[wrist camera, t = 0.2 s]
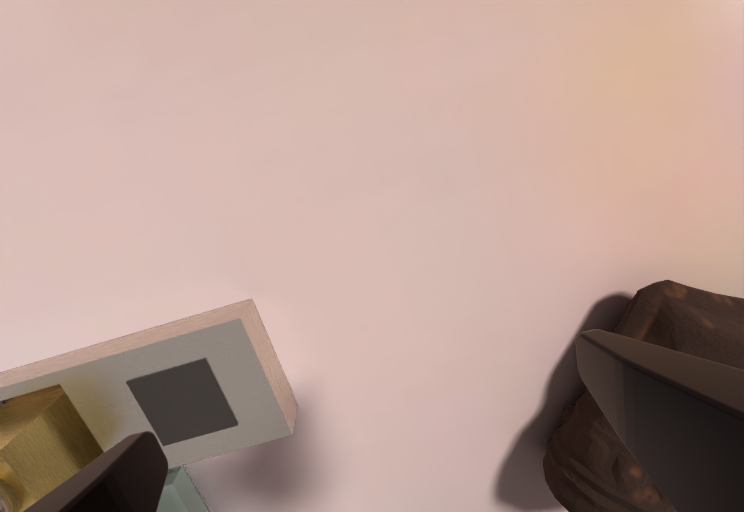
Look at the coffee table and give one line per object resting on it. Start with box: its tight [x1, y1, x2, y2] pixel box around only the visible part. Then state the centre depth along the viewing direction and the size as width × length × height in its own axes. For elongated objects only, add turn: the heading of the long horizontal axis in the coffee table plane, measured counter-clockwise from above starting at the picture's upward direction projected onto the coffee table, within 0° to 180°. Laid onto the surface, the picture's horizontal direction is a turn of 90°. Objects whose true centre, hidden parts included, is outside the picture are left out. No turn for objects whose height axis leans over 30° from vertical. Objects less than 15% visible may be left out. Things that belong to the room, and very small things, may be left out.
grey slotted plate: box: [0, 299, 298, 469], centre depth 23 cm, size 8×24×3 cm, turn 106°
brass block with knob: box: [0, 384, 103, 512], centre depth 21 cm, size 4×4×7 cm
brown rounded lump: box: [543, 280, 744, 512], centre depth 23 cm, size 10×15×15 cm
